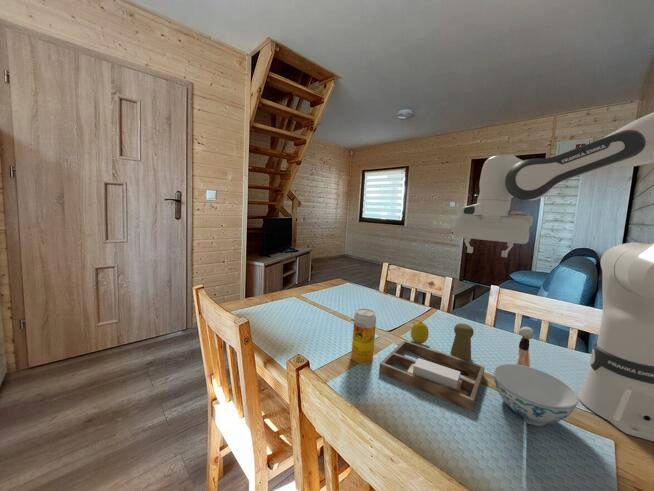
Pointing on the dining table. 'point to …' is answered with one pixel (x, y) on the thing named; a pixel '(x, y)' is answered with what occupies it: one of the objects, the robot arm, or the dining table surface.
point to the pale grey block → (436, 382)
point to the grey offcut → (437, 373)
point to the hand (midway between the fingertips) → (486, 254)
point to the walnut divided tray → (428, 385)
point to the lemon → (419, 332)
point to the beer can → (363, 336)
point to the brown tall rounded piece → (462, 341)
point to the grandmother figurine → (524, 346)
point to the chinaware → (534, 394)
